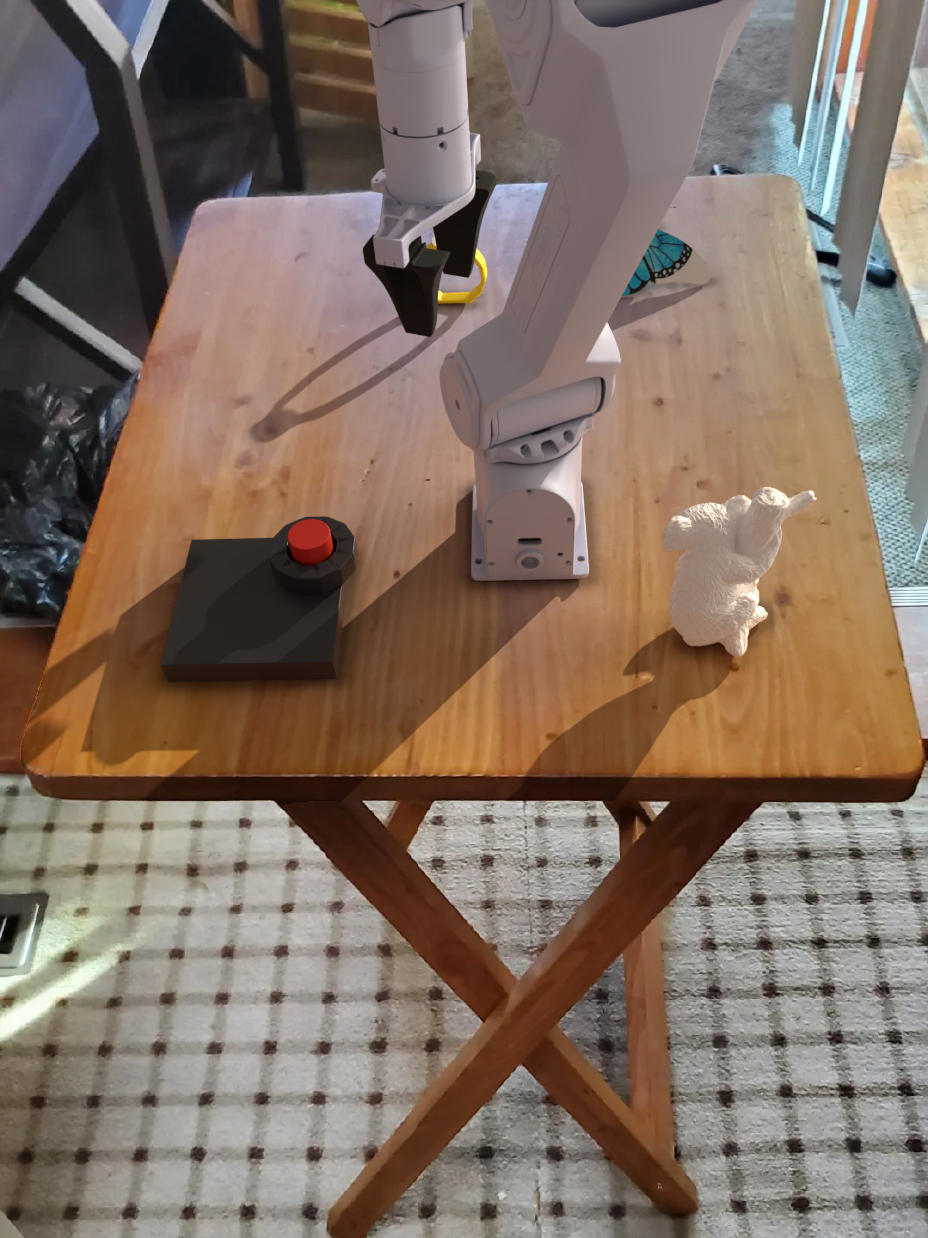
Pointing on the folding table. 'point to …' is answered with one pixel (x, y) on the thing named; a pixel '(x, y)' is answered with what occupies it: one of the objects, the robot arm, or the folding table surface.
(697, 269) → the decorative butterfly
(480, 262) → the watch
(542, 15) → the robot arm
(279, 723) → the folding table surface
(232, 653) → the black red button box
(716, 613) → the koala figurine
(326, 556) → the button
